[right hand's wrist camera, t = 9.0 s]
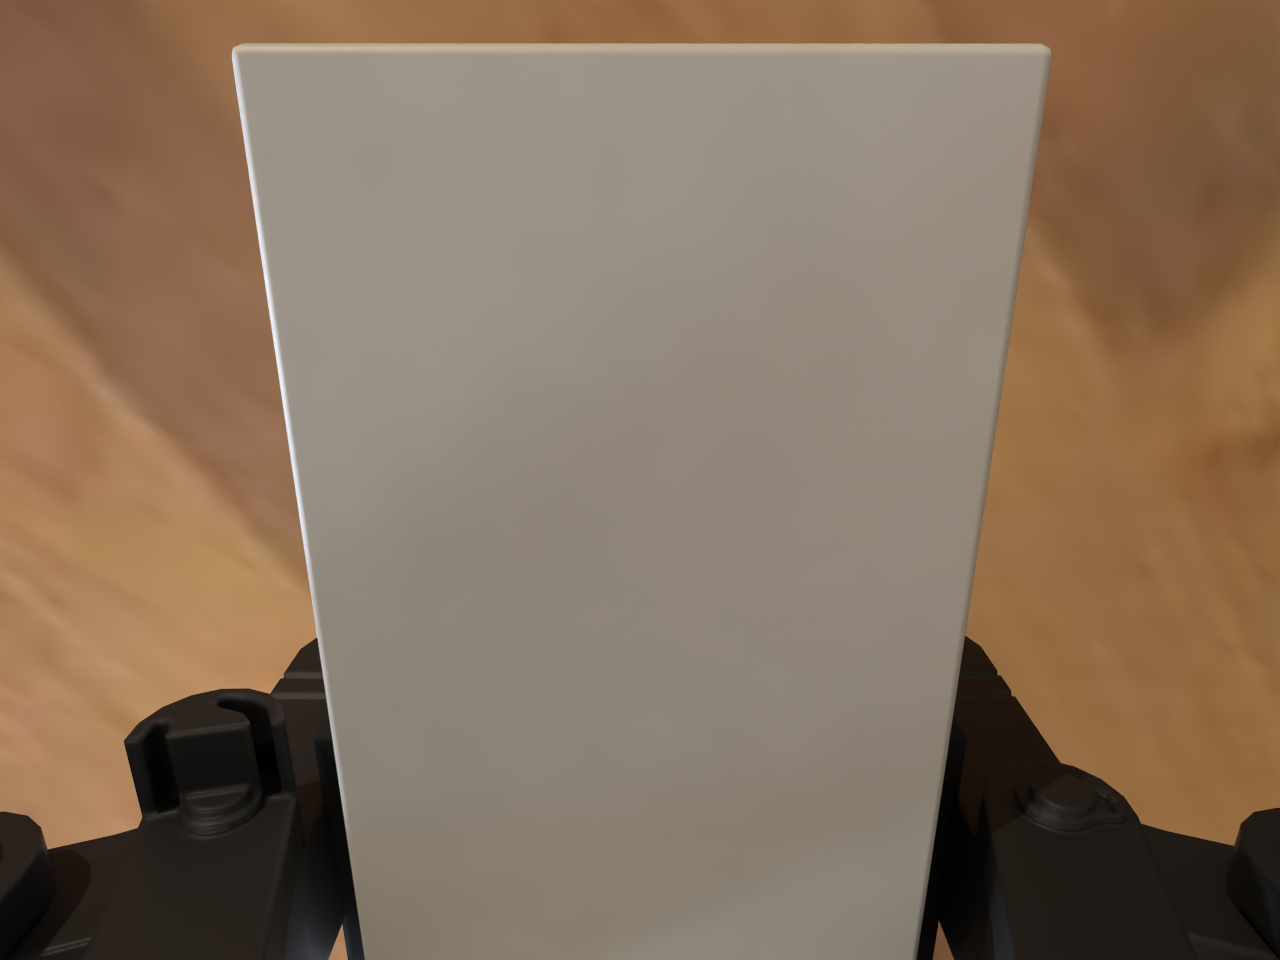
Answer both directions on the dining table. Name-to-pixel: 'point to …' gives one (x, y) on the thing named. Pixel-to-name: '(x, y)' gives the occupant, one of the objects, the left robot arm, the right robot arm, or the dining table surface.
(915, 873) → the bar
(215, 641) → the dining table surface
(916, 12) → the dining table surface
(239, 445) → the dining table surface
